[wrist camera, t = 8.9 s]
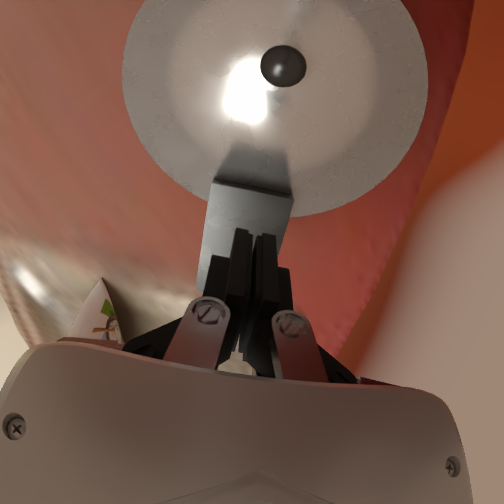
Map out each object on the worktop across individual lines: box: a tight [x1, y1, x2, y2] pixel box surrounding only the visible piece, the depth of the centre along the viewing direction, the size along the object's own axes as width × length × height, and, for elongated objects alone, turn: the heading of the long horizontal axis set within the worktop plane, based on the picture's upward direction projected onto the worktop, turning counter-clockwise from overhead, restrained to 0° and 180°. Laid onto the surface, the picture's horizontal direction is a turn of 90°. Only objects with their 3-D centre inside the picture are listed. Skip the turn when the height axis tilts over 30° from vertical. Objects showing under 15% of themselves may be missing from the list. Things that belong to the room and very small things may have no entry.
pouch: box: [67, 278, 124, 344], centre depth 38 cm, size 8×19×20 cm, turn 170°
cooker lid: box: [122, 0, 428, 291], centre depth 16 cm, size 26×19×3 cm
